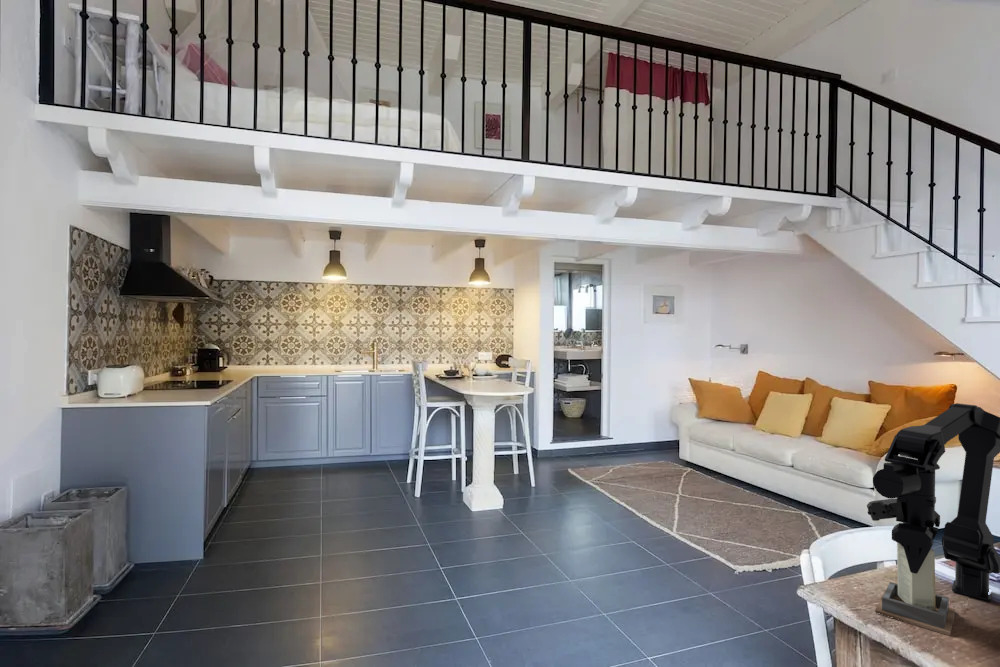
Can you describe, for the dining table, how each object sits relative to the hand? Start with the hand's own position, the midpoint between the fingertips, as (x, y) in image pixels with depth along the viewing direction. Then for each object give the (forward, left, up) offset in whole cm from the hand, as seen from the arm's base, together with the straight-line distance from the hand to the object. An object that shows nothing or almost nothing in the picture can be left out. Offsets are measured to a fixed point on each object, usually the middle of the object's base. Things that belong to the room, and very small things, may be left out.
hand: (916, 566), depth 113 cm
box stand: (0, 0, -10) cm, 10 cm away
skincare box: (0, 0, -8) cm, 8 cm away
